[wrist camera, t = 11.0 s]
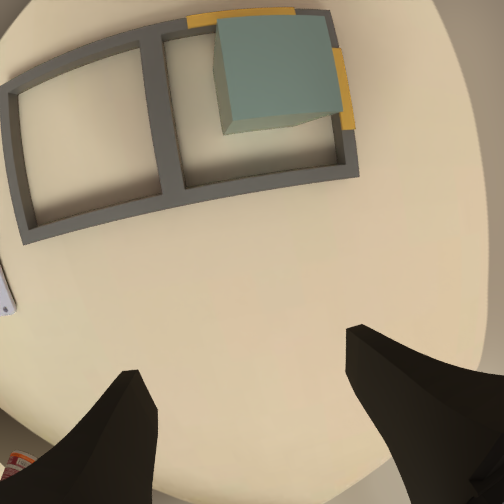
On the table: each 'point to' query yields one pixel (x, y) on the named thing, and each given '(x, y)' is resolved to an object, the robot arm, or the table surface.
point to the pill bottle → (17, 463)
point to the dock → (162, 127)
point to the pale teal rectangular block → (274, 72)
